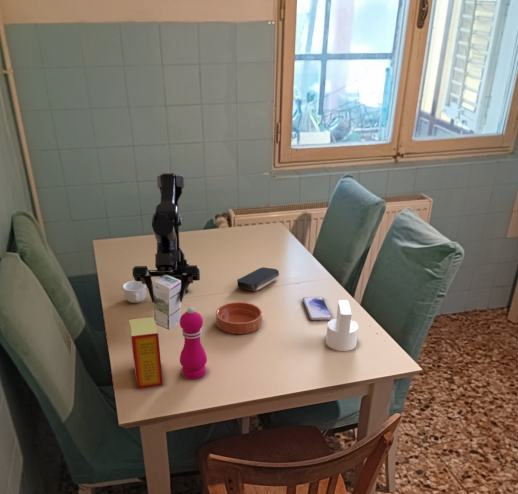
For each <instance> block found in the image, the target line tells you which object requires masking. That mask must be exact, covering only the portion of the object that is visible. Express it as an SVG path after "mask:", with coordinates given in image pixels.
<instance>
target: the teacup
mask: <svg viewBox="0 0 518 494" xmlns="http://www.w3.org/2000/svg"><path fill="white" fill-rule="evenodd" d="M147 290H148V288H147V286H146V284H142V282H141V281H139V282H137V281H135V280H130V281H127V282H124V284H122V291H123V297H124V298H125V300H126V301H127V302H129V303H132V304H139V303H141V302H143V301H144V300H145V299H146V298H147V293H148V292H147Z"/></svg>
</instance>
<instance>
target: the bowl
mask: <svg viewBox="0 0 518 494" xmlns="http://www.w3.org/2000/svg"><path fill="white" fill-rule="evenodd" d="M215 323H216V327H217V328H218V329H219V330H221V331H223V332H225V333H228V334H236V335H243V334H244V335H245V334H249V333H253V332H255V331H257V330H259V329H260V328H261V327H262V324H263V310H262V309H261V308H260V307H259V306H258V305H255V304H253V303H250V302H244V301H237V302H236V301H234V302H227V303H225V304H223V305H220V306H219V307H218V308H217V309H216V311H215Z"/></svg>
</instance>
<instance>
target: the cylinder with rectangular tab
mask: <svg viewBox="0 0 518 494" xmlns="http://www.w3.org/2000/svg"><path fill="white" fill-rule="evenodd" d="M352 316H353V315H352V310H351V305H350V301H349V300H347V299H339V300H337V309H336V318H332V319H331V320H328V322H327V324H326V325H327V327H326V335H325V336H326V338H325V344H326V346H327V347H328V348H330V349H332V350H334V351H339V352H340V351H341V352H348V351H351V350H353V349H356V346H357V341H358V334H359V324H358V323H357V322H356V321H355V320H352Z"/></svg>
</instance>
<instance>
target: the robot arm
mask: <svg viewBox="0 0 518 494" xmlns="http://www.w3.org/2000/svg"><path fill="white" fill-rule="evenodd" d="M156 180H157V181H156V182H157V189H158V190H159V191H160V202H159V204H157V205H156V206H155V210H154V213H152V218H151V219H152V220H151V227H152V230H153V231H152V232H153V234H154V238H155V240H156V253H154V254H155V255H154V260H155V261H154V262H155V264H154V265H155V269H148V265H135V266H134V267H132V278H133V279H134V281H137V282H139V281H141V282H142V284H146V288H147V290H148V293H149V296H150V299H151V302H152V304H154V282H153V280H152V278H159V277H161V276H163V275H165V274H166V275H168V276H171V277H174V278H176V279H179V280H181V291H180V302H181V303H183V299H184V297H185V294H186V293H189V289H188V288H189V286H190V284H193V283H194V282H196V281H200V280H201V272H200V267H199V265H197V264H196V265H195V264H194V265H193V264H191V265H190V264H189V262H188V260H187V258H186V254H185V253H184V251H183V250H182V248H181V247H180V246H181V245H180V244H181V243H180V227H181V226H182V223H183V218H182V216H181V213H179V212H180V211H179V202H180V201H181V199H182V196H183V190H185V177H184V176H183V175H181V174H177V173H174V172H171V173H170V172H165V173H164V172H163V173H160V174H159V175H157V176H156Z"/></svg>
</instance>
